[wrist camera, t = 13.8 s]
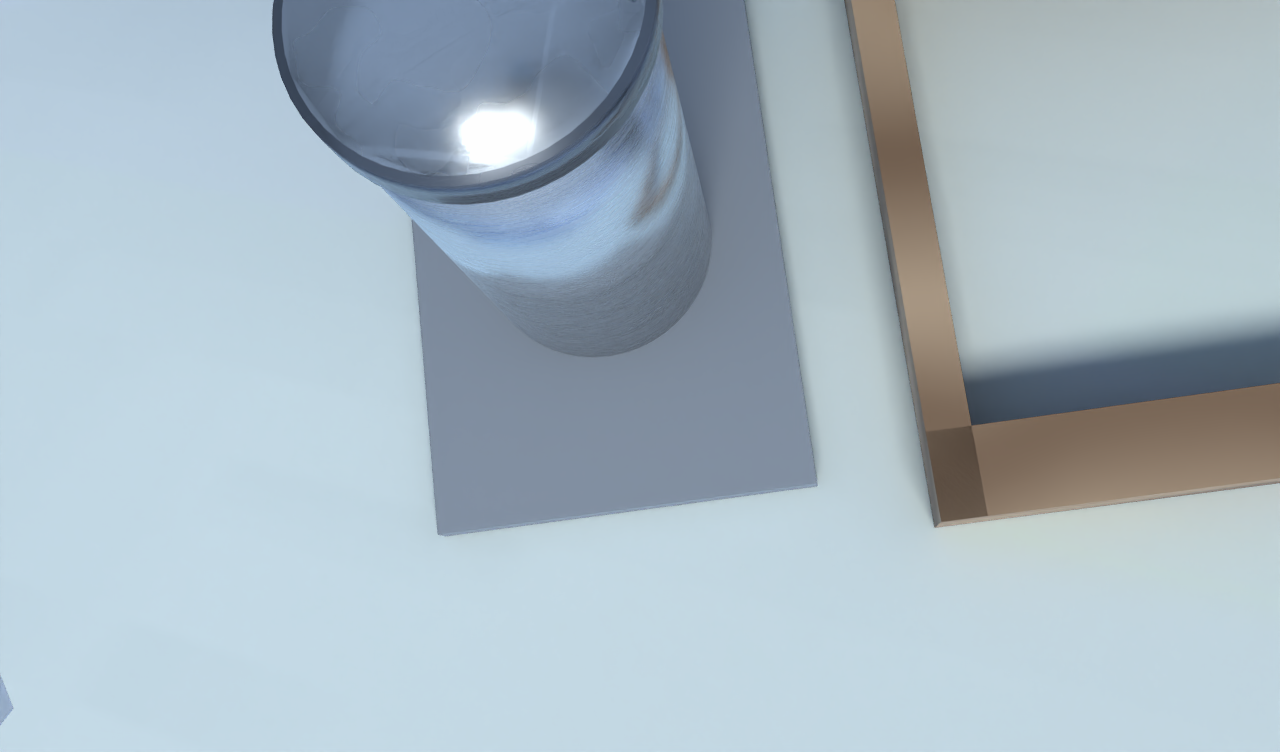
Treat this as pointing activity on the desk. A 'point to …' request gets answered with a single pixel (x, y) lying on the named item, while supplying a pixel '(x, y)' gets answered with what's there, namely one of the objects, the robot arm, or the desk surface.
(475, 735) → the desk surface
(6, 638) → the desk surface
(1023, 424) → the frame
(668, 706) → the desk surface
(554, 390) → the felt pad
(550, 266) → the canister
